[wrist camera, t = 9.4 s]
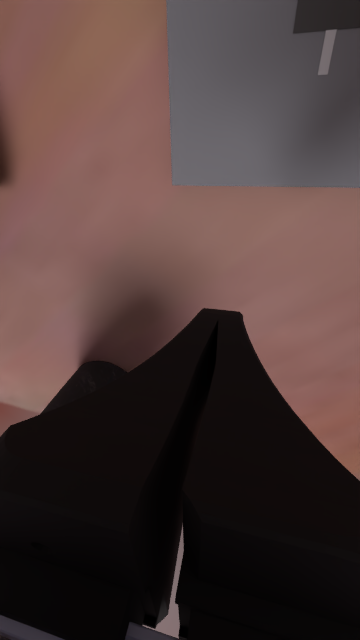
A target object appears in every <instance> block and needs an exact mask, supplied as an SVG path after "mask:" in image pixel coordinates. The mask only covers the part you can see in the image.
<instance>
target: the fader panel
mask: <svg viewBox="0 0 360 640" xmlns="http://www.w3.org/2000/svg"><path fill="white" fill-rule="evenodd" d="M166 3H167V35H168V67H169V98H170V130H171V162H172V185H196V186H274V187H352V188H360V0H166Z"/></svg>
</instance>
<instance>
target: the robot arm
mask: <svg viewBox="0 0 360 640" xmlns="http://www.w3.org/2000/svg"><path fill="white" fill-rule="evenodd" d="M182 524H183V538H184V553H183V559H182V565H181V570H180V575H179V581H178V586H177V592H176V598H175V603H176V604H178V607H179V620H180V629H179V639H178V638H175V637H172V636H169V635H166V634H163V633H161V632H158V631H155V630H152V629H149V628H146V627H144V626H142V625H146V626H149V627H151V628H154V629H155V628H156V625H157V624H158V623H159V622H161V620H163V619H164V617H166V616H167V615H168V610H169V604H170V597H171V591H172V585H173V579H174V572H175V566H176V560H177V554H178V548H179V542H180V536H181V530H182ZM0 635H1V636H3V637H6V638H8V639H11V640H360V481H359V480H358V479H357V478H356V477H355V476H354V475H353V474H351V473H350V472H349V471H348V470H347V469H346V468H345V467H344V466H343V465H342V464H341V463H340V462H339V461H338V460H337V459H336V458H335V457H334V456H333V455H332V454H331V453H330V452H329V451H328V450H327V449H326V448H325V447H324V446H323V445H322V444H321V443H320V441H319V440H318V439H317V438H316V437H315V436H314V435H313V433H312V432H311V431H310V430H309V429H308V428H307V426H306V425H305V424H304V423H303V422H302V421H301V419H300V418H299V417H298V416H297V415H296V414H295V412H294V411H293V410H292V409H291V407H290V406H289V405H288V403H287V402H286V401H285V399H284V398H283V397H282V395H281V394H280V392H279V391H278V389H277V388H276V387H275V385H274V384H273V382H272V381H271V379H270V377H269V376H268V374H267V372H266V371H265V369H264V367H263V365H262V364H261V362H260V360H259V358H258V356H257V354H256V352H255V350H254V348H253V346H252V344H251V341H250V339H249V337H248V334H247V331H246V328H245V325H244V321H243V315H242V314H241V313H240V312H236V311H226V310H217V309H207V308H204V309H202V310H201V311H200V312H199V313H198V314H197V315H196V316H195V318H194V319H193V320H192V321H191V322H190V323H189V324H188V325H187V326H186V327H185V328H184V329H183V330H182V331H181V332H180V333H179V334H178V335H177V336H176V337H174V338H173V339H172V340H171V341H170V342H169V343H168V344H166V345H165V346H164V347H163V348H162V349H160V350H159V351H158V352H157V353H156V354H154V355H153V356H152V357H150V358H149V359H148V360H146V361H145V362H144V363H142V364H141V365H139V366H138V367H136V368H135V369H133V370H132V371H130V372H128V373H127V374H125V375H123V376H121V377H120V378H118V379H116V380H114V381H113V382H111V383H109V384H107V385H106V386H104V387H102V388H100V389H98V390H96V391H94V392H92V393H90V394H88V395H86V396H83V397H81V398H79V399H77V400H75V401H72V402H70V403H68V404H66V405H63V406H61V407H58V408H56V409H53V410H51V411H48V412H46V413H43V414H40V415H38V416H35V417H33V418H30V419H28V420H25V421H22V422H19V423H16V424H14V425H11V426H10V427H9V428H8V429H7V430H6V431H5V432H4V433H3V434H2V436H1V437H0Z"/></svg>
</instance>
